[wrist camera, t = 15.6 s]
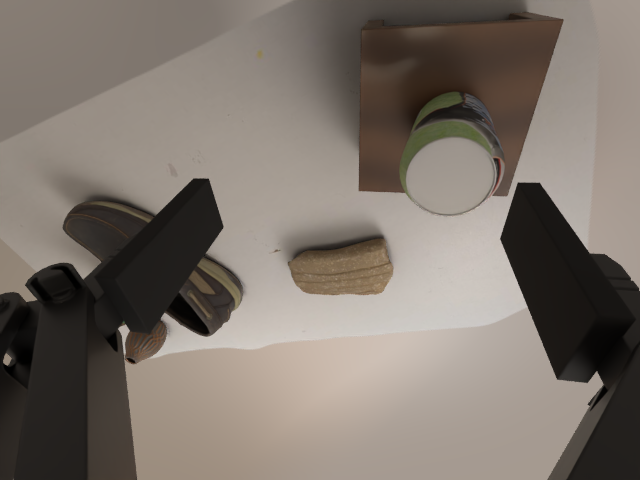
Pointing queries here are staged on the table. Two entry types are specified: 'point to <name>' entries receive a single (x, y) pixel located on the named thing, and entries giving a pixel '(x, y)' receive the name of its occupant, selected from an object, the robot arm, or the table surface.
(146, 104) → the table surface
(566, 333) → the robot arm
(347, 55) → the table surface
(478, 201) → the beverage can
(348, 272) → the decorative stone
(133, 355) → the vase
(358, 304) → the table surface
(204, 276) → the boat shoe
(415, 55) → the walnut shelf
